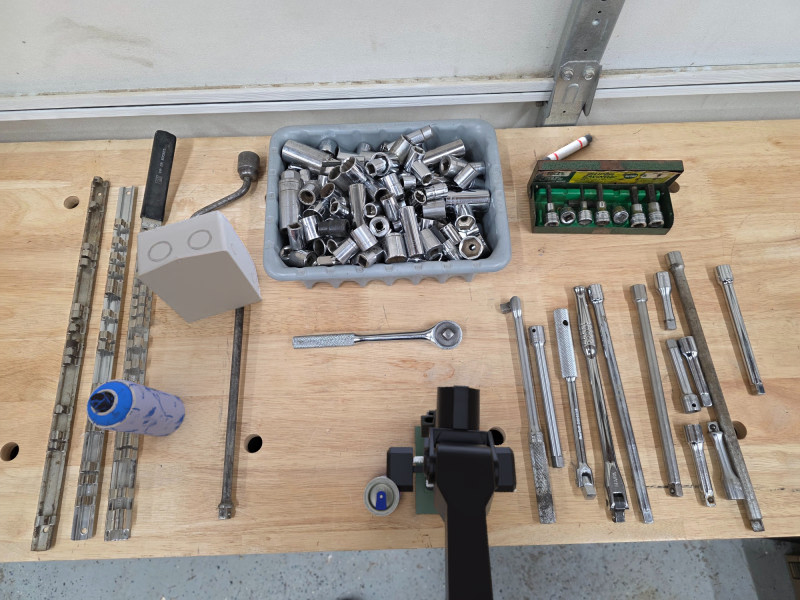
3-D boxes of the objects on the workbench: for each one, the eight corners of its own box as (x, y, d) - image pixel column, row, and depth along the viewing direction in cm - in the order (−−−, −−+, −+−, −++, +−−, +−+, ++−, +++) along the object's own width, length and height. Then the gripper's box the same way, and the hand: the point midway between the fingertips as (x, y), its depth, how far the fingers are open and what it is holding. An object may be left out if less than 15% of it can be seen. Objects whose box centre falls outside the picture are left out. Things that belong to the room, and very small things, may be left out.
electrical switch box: (253, 246, 97) (213, 180, 79) (265, 304, 90) (223, 245, 72) (185, 266, 95) (129, 203, 78) (191, 326, 88) (131, 272, 71)
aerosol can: (193, 394, 84) (130, 373, 65) (185, 438, 81) (118, 429, 62) (151, 393, 84) (76, 372, 65) (142, 438, 81) (62, 429, 62)
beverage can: (401, 507, 76) (399, 516, 62) (371, 507, 76) (362, 516, 62) (401, 475, 78) (399, 477, 64) (372, 475, 78) (363, 476, 64)
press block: (475, 513, 76) (478, 515, 72) (415, 513, 76) (416, 515, 72) (470, 426, 81) (473, 424, 77) (414, 426, 81) (415, 424, 77)
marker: (584, 138, 102) (588, 132, 100) (590, 144, 101) (593, 138, 99) (530, 168, 99) (532, 162, 97) (535, 175, 99) (537, 169, 97)
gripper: (519, 407, 62) (499, 418, 77) (384, 407, 63) (389, 418, 77) (527, 494, 58) (504, 489, 73) (383, 494, 59) (389, 489, 73)
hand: (445, 468), depth 74 cm, fingers closed, pressing on press plunger
